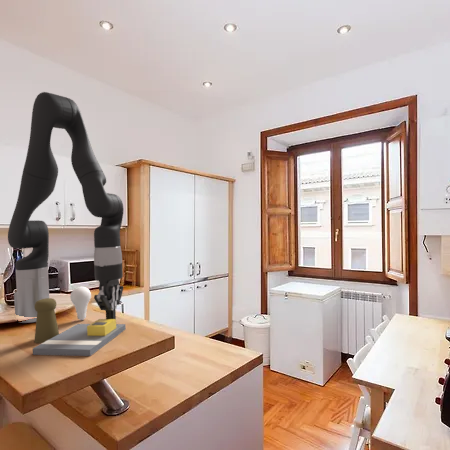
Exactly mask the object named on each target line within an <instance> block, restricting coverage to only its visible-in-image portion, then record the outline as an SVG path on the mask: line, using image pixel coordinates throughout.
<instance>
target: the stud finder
mask: <svg viewBox="0 0 450 450" xmlns="http://www.w3.org/2000/svg"><path fill="white" fill-rule="evenodd" d="M89 324H90V325H88V326H87V336H106V335H107V334H108V333H110V332H111V331H113V330H114V329H116V324H117V318H116V319H106V318H99V319H97V320H95V321H94V322H92V323H89Z"/></svg>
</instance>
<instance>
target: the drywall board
mask: <svg viewBox="0 0 450 450" xmlns="http://www.w3.org/2000/svg"><path fill="white" fill-rule="evenodd" d="M90 324H91V323H76V324H75V325H73V326H71V327H70V328H69V327H68V329H66V330H64V331H62V332H61V333H60V332H59V334H58V335H57V336H55V337H53V338H51V339H49V340H47V341H45V342H44V343H39V344H38V345H36V346H35V347H33V348H32V355H34V356H37V355H39V356H70V357H71V356H73V357H74V356H76V357H77V356H78V357H81V356H82V357H91V356H92V355H94V354H95V353H96V352H98V351H100V349H102V348H103V347H104V346H106V345H107V344H108V343H109V342H111V341H113V339H114V338H116V337H118V336H119V335H121V333H123V332H124V331H125V330H126V323H116V329H114V330H113V331H111V332H110V333H108V334H107V335H106V336H87V326H88V325H90Z"/></svg>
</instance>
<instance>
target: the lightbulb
mask: <svg viewBox="0 0 450 450" xmlns="http://www.w3.org/2000/svg"><path fill="white" fill-rule="evenodd" d="M69 297H70V301H71V303H72V305H74V308H75V313H76V315H77V320H79V321H84V320H85V319H86V318H87V312H88V304H89V303H90V301H91V299H92V293H91V291H90V289H89V288H88V287H85V286H83V285H82V286H81V285H80V286H77V287H76V288H74V289H73V290H72V291H71V293H70V296H69Z"/></svg>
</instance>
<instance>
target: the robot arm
mask: <svg viewBox="0 0 450 450" xmlns="http://www.w3.org/2000/svg"><path fill="white" fill-rule="evenodd" d="M54 128H56V129H61V130H62V129H64V130H65V131H66V133H67V135H68V136H69V138H70V139H71V143H72V145H71V146H72V148H71V154H70V155H71V157H70V161H71V166H72V170H73V171H74V173H75V175H76V177H77V179H78V182H79V184H80V185H81V189H82V195H83V199H84V203H85V207H86V208H87V210H88V211H89V213H90V214H91V215H92V216H94V217H96V218H100V219H101V220H100V225H99V226H97V227H96V228H94V231H93V241H94V250H93V252H94V253H93V264H94V269H93V270H94V280H95V281H98V282H99V285H98V290H99V291H98V294H95V295H94V296H93V299H94V301H95V302H96V304H97V306H98V307H99V310H100V311H105V319H116V320H117V316H116V315H117V314H116V312H117V311H116V309H117V307H118V306H119V305H120V303H121V298H122V295H123V292H124V286H123V285H120V281H119V280H120V279H122V278H123V277H124V273H123V254H122V253H123V252H122V248H121V247H122V246H121V228H122V224H123V218H124V212H125V211H124V204H123V200H122V199H121V197H120V196H119V195H117V194H114V193H109V192H106V189H105V188H104V186H105V185H106V183H107V177H106V175H105V172H104V171H103V169H102V167H101V165H100V162H99V161H98V160H97V156H96V155H95V153H94V151H93V150H94V149H93V148H92V144H91V141H90V138H89V134H88V131H87V129H86V126H85V123H84V119H83V116H82V113H81V110H80V108H79V106H78V104H77V103H76V102H75V101H74V100H73V99H72V98H69V97H67V96H63V95H59V94H55V93H51V92H47V91H42V92H39V94H38V95H36V97H35V99H34V101H33V105H32V113H31V124H30V134H29V139H28V140H29V142H28V147H27V152H26V156H25V157H26V158H25V162H24V166H23V168H22V169H23V170H22V174H21V178H20V185H19V191H18V196H17V201H16V204H15V207H14V211H13V213H12V217H11V219H10V222H9V223H10V224H9V227H8V231H7V242H8V245H9V246H10V247H11V248H12V249H15V250H16V249H17V250H19V249H20V250H21V249H22V250H23V249H31V250H32V251H31V252H30V253H29V254H27V255H26V256H25V257H22V258H19V259H18V260H16V262H15V281H16V283H15V284H16V291H15V292H14V294H13V298H14V299H13V300H14V315H15V314H16V315H19V316H24V317H37V312H36V310H35V303H36V302H37V301H38V300H41V299H45V298H50V287H49V285H50V284H49V263H48V262H49V257H50V256H49V253H50V252H49V251H50V250H49V242H50V241H49V238H50V236H49V227H48V225H47V223H46V222H45V221H44V220H38V219H37V220H30V219H31V217H32V216H33V215H32V214H33V213H34V212H35V211H36V209H38V208H39V207H40V206H41V204H43V203H45V201H46V200H47V199H49V197H50V196H51V195H52V193H53V192H54V191H55V187H56V185H57V184H56V183H57V180H58V175H59V166H58V164H57V161H56V158H55V156H54V153H53V151H52V147H51V138H52V133H53V129H54ZM36 320H37V318H34V319H29V320H26V321H22V322H19V323H22V324H27V323H29V324H30V323H36Z"/></svg>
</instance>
